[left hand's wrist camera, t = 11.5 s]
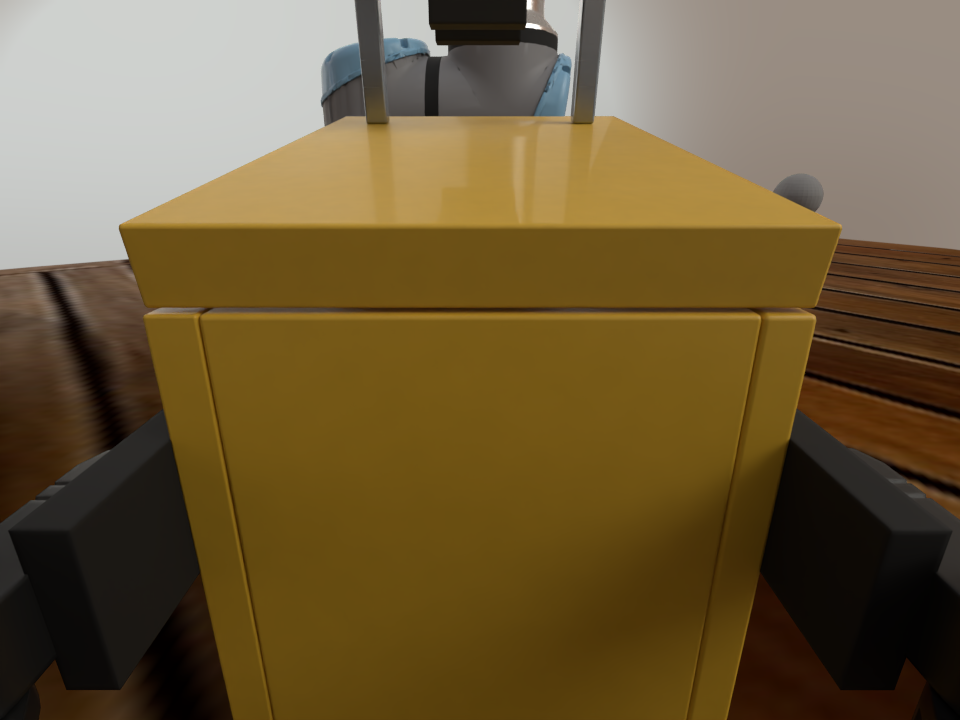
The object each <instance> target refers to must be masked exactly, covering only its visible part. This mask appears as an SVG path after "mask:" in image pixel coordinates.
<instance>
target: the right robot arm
mask: <svg viewBox="0 0 960 720" xmlns="http://www.w3.org/2000/svg"><path fill="white" fill-rule="evenodd" d="M428 3H429V25H430V27H431V30H435V36H436V43H437V45H448V56H443V57H430V51H429V50H428V47H427V45H426V43H424V42H423V41H421V40H417V39H412V38H404V39H397V38H385V39H383V40H384V53H385V66H386V79H387V92H388V105H389V116H565V111H566V105H567V99H568V92H569V85H570V71H571V59H570V57H569V56H565V55H564V54H563V53H562V54H559V55H557V43H558V34H557V33H556V31H555V30H554V29H553V28H552V27H551V26H550V25H549V23H548V22H547V21H546V19H545V17H544V3H545V0H428ZM321 77H322V98H321V99H322V100H321V105H322V107H323V113H324V123H325V126H327V125H329V124H331V123H333V122H336V121H338V120H340V119H342V118H344V117H346V116H366V114H365V104H364V94H363V83H362V73H361V62H360V52H359V42H358V43H354V44H350V45H347V46H344V47H341V48H339V49H337V50H335V51H333V52H332V53H330V54H329V55H328V56H327V57H326V58H325V60H324V62H323V64H322V69H321Z"/></svg>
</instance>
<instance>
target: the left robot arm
mask: <svg viewBox="0 0 960 720" xmlns="http://www.w3.org/2000/svg"><path fill="white" fill-rule="evenodd" d="M906 481H907V480H906V479H904V478H903V477H902V476H900V475H899V474H898V473H896V472H895V471H894V470H892V469H891V468H890V467H888V466H887V465H886V464H884V463H883V462H881V461H879V460H876V459H874V458H872V457H870V456H868V455H866V454H864V453H862V452H860V451H858V450H856V449H853V448H847V447H845V446H844V445H843V444H842V443H840V442H839V441H838V440H836V439H835V438H834V437H833V436H831V435H830V434H829V433H828V432H826V431H825V430H824V429H822V428H821V427H820V426H819V425H817V424H816V423H815V422H813V421H812V420H811V419H810V418H808V417H807V416H806V415H805V414H803V413H802V412H801V411H799V410H798V409H797V408H796V413H795V417H794V422H793V426H792V431H791V435H790V439H789V444H788V448H787V453H786V457H785V462H784V466H783V471H782V475H781V480H780V484H779V488H778V493H777V497H776V502H775V506H774V511H773V515H772V520H771V524H770V528H769V533H768V537H767V542H766V546H765V551H764V555H763V560H762V564H761V569H760V572H761V574H762V575H763V577H764V578H765V580H766V581H767V582H768V584H769V585H770V587H771V588H772V590H773V591H774V593H775V594H776V596H777V597H778V599H779V600H780V602H781V603H782V604H783V606H784V607H785V609H786V610H787V612H788V613H789V615H790V616H791V618H792V619H793V621H794V622H795V624H796V625H797V627H798V628H799V629H800V631H801V632H802V634H803V635H804V637H805V638H806V640H807V641H808V643H809V644H810V646H811V647H812V649H813V650H814V652H815V653H816V654H817V656H818V657H819V659H820V660H821V662H822V663H823V665H824V666H825V668H826V669H827V671H828V672H829V674H830V675H831V677H832V678H833V679H834V681H835V682H836V684H837V685H838V687H839V688H840V690H894V689H895V687H896V684H897V681H898V678H899V676H900V673H901V670H902V667H903V665H904V662H905V659H906V657H907V658H908V659H909V661H910V662H911V663H912V664H913V665H914V666H915V668H916V669H917V670H918V671H919V672H920V673H921V675H922V676H923V677H924V678H925V679H926V680H927V682H926V684H925V687H924V689H923V692H922V694H921V697H920V699H919V702H918V704H917V707H916V710H915V712H914V715H913V717H912V720H960V520H959V519H958V518H956V517H955V516H954V515H952V514H951V513H950V512H948V511H947V510H946V509H944V508H943V507H942V506H940V505H939V504H938V503H936V502H935V501H934V500H932V499H931V498H926V494H924V493H923V492H922V491H920V490H919V489H918V488H916V487H915V486H914V485H912V484H907V482H906ZM199 573H200V569H199V565H198V560H197V556H196V551H195V547H194V542H193V538H192V533H191V529H190V525H189V520H188V516H187V511H186V507H185V502H184V498H183V493H182V489H181V484H180V480H179V476H178V471H177V467H176V462H175V458H174V453H173V449H172V444H171V440H170V436H169V432H168V427H167V423H166V419H165V414H164V410H161V411H160V412H159V413H157V414H156V415H155V416H154V417H152V418H151V419H150V420H148V421H147V422H146V423H145V424H143V425H142V426H141V427H140V428H138V429H137V430H136V431H134V432H133V433H132V434H131V435H129V436H128V437H127V438H126V439H124V440H123V441H122V442H120V443H119V444H118V445H117V446H115V447H114V448H113V449H111V450H108V451H105V452H103V453H101V454H99V455H97V456H95V457H93V458H91V459H89V460H87V461H85V462H83V463H81V464H78V465H77V466H76V467H74V468H73V469H72V470H70V471H69V472H68V473H66V474H65V475H64V476H62V477H61V478H60V479H58V480H57V481H56V482H55V485H54V486H49V487H48V488H46V489H45V490H44V491H42V492H41V493H40V494H38V495H37V496H36V499H35V500H31V501H29V502H28V503H27V504H25V505H24V506H23V507H21V508H20V509H19V510H17V511H16V512H15V513H13V514H12V515H11V516H9V517H8V518H7V519H5V520H4V521H3V522H1V523H0V720H38V719H39V714H40V708H41V707H40V699H39V694H38V692H37V689H36V687H35V684H34V683H35V682H36V681H37V680H38V679H39V677H40V676H41V675H42V674H43V673H44V672H45V670H46V669H47V668H48V667H49V666H50V664H51V663H52V662H53V661H54V660H56V662H57V665H58V668H59V671H60V673H61V676H62V679H63V682H64V684H65V687H66V690H120V689H121V688H122V686H123V685H124V683H125V682H126V680H127V679H128V677H129V676H130V675H131V673H132V672H133V670H134V669H135V667H136V666H137V664H138V663H139V661H140V660H141V658H142V657H143V655H144V654H145V652H146V651H147V650H148V648H149V647H150V645H151V644H152V642H153V641H154V639H155V638H156V636H157V635H158V633H159V632H160V630H161V629H162V627H163V626H164V625H165V623H166V622H167V620H168V619H169V617H170V616H171V614H172V613H173V611H174V610H175V608H176V607H177V605H178V604H179V602H180V601H181V600H182V598H183V597H184V595H185V594H186V592H187V591H188V589H189V588H190V586H191V585H192V583H193V582H194V580H195V579H196V577H197V576H198V575H199Z"/></svg>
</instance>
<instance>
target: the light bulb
mask: <svg viewBox="0 0 960 720" xmlns="http://www.w3.org/2000/svg"><path fill="white" fill-rule="evenodd" d="M773 193H775V194H778V195H780V196H782V197H784V198H786V199H788V200H790V201H792V202H794V203H796V204H799V205H801V206H803V207H805V208H807V209H809V210H811V211H813V212H815V211H816V210H817V209H818V208H819V206H820V204H821V202H822V199H823V188H822V186H821V184H820V182H819V181H818V180H817V179H816V178H815V177H813V176H811V175H807V174H796V175H791V176H789V177H787V178H785V179H784V180H783V181H781V182H780V183H779V184H778V185H777V187H776V188H775V190H774V192H773Z"/></svg>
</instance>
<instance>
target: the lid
mask: <svg viewBox="0 0 960 720" xmlns="http://www.w3.org/2000/svg"><path fill="white" fill-rule="evenodd" d="M605 1H606V0H580V4H579V18H578V30H577V43H576V56H575V70H574V82H573V95H572V108H571V116H389V105H388V92H387V79H386V66H385V53H384V40H383V27H382V13H381V0H355V10H356V21H357V31H358V42H359V52H360V62H361V73H362V83H363V94H364V104H365V114H366V116H346V117H344V118H342V119H340V120H338V121H336V122H333V123H331V124H329V125H327V126H325V127H323V128H321V129H319V130H317V131H315V132H313V133H311V134H308V135H306V136H304V137H302V138H300V139H298V140H296V141H294V142H292V143H290V144H287V145H285V146H283V147H281V148H279V149H277V150H275V151H273V152H271V153H269V154H267V155H265V156H262V157H260V158H258V159H256V160H254V161H252V162H250V163H248V164H246V165H244V166H242V167H240V168H237V169H235V170H233V171H231V172H229V173H227V174H225V175H223V176H221V177H219V178H216V179H214V180H212V181H210V182H208V183H206V184H204V185H202V186H200V187H198V188H196V189H193V190H191V191H189V192H187V193H185V194H183V195H181V196H179V197H177V198H175V199H173V200H170V201H168V202H166V203H164V204H162V205H160V206H158V207H156V208H154V209H152V210H150V211H147V212H145V213H143V214H141V215H139V216H137V217H135V218H133V219H131V220H129V221H127V222H124V223H122V224H120V225H119V231H120V234H121V237H122V240H123V243H124V246H125V248H126V252H127V254H128V257H129V261H130V264H131V267H132V269H133V272H134V275H135V278H136V281H137V284H138V287H139V290H140V293H141V296H142V299H143V302H144V305H145V306H146V307H148V308H813V307H815V306H816V305H817V302H818V299H819V296H820V293H821V290H822V287H823V284H824V281H825V278H826V275H827V272H828V269H829V266H830V263H831V260H832V257H833V254H834V251H835V248H836V245H837V242H838V239H839V236H840V234H841V230H842V226H841V225H840V224H838V223H836V222H834V221H832V220H830V219H828V218H826V217H824V216H822V215H820V214H817V213H815V212H813V211H811V210H809V209H807V208H805V207H803V206H801V205H799V204H796V203H794V202H792V201H790V200H788V199H786V198H784V197H782V196H780V195H778V194H775V193H773V192H771V191H769V190H767V189H765V188H763V187H761V186H759V185H757V184H755V183H752V182H750V181H748V180H746V179H744V178H742V177H740V176H738V175H736V174H734V173H731V172H729V171H727V170H725V169H723V168H721V167H719V166H717V165H715V164H713V163H710V162H708V161H706V160H704V159H702V158H700V157H698V156H696V155H694V154H692V153H690V152H687V151H685V150H683V149H681V148H679V147H677V146H675V145H673V144H671V143H668V142H666V141H664V140H662V139H660V138H658V137H656V136H654V135H652V134H650V133H648V132H645V131H643V130H641V129H639V128H637V127H635V126H633V125H631V124H629V123H627V122H624V121H622V120H620V119H618V118H616V117H614V116H594V115H595V105H596V95H597V84H598V73H599V63H600V53H601V43H602V32H603V22H604V12H605Z"/></svg>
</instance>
